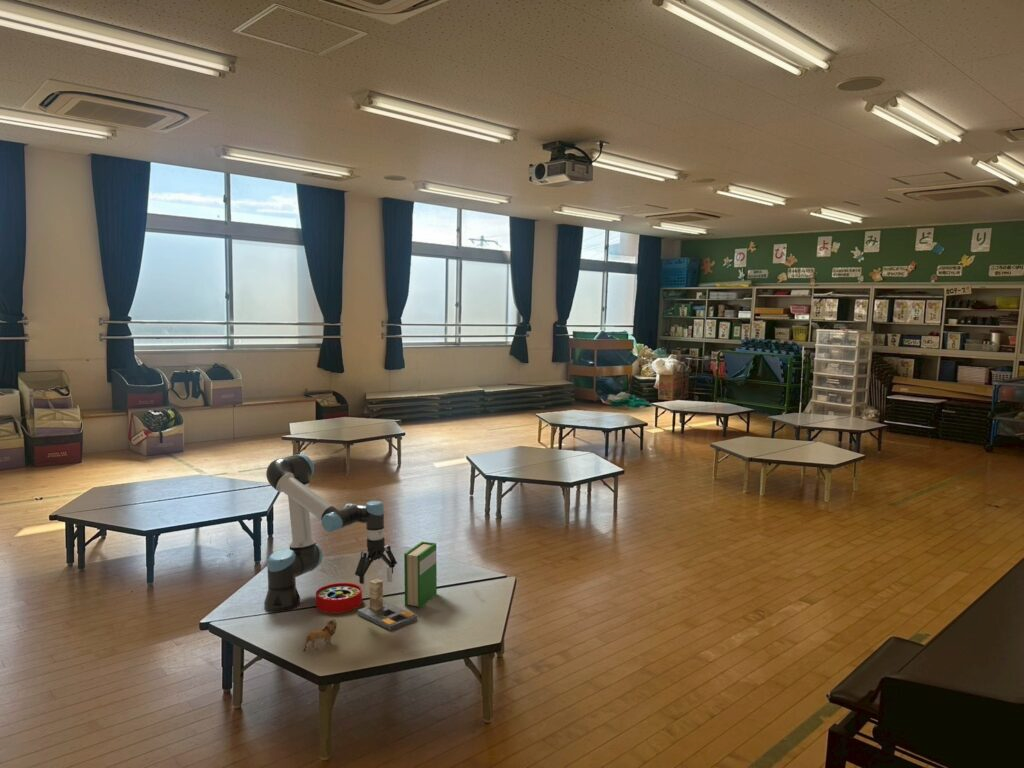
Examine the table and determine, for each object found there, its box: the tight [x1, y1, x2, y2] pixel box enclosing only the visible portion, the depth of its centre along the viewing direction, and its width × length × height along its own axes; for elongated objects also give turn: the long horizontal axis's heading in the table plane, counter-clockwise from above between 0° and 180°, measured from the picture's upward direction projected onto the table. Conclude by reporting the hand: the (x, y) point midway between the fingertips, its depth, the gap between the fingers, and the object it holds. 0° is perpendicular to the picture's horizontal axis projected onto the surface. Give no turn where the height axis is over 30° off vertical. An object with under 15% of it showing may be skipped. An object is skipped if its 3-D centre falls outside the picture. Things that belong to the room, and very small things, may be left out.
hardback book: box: [403, 541, 438, 609], centre depth 311 cm, size 18×7×24 cm, turn 162°
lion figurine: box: [302, 618, 338, 652], centre depth 267 cm, size 15×5×9 cm, turn 138°
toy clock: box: [315, 582, 363, 614], centre depth 308 cm, size 20×6×20 cm
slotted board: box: [356, 600, 418, 632], centre depth 293 cm, size 14×23×2 cm, turn 47°
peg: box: [369, 578, 384, 612], centre depth 298 cm, size 4×4×14 cm
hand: (376, 586), depth 297 cm, fingers open, 13 cm apart
